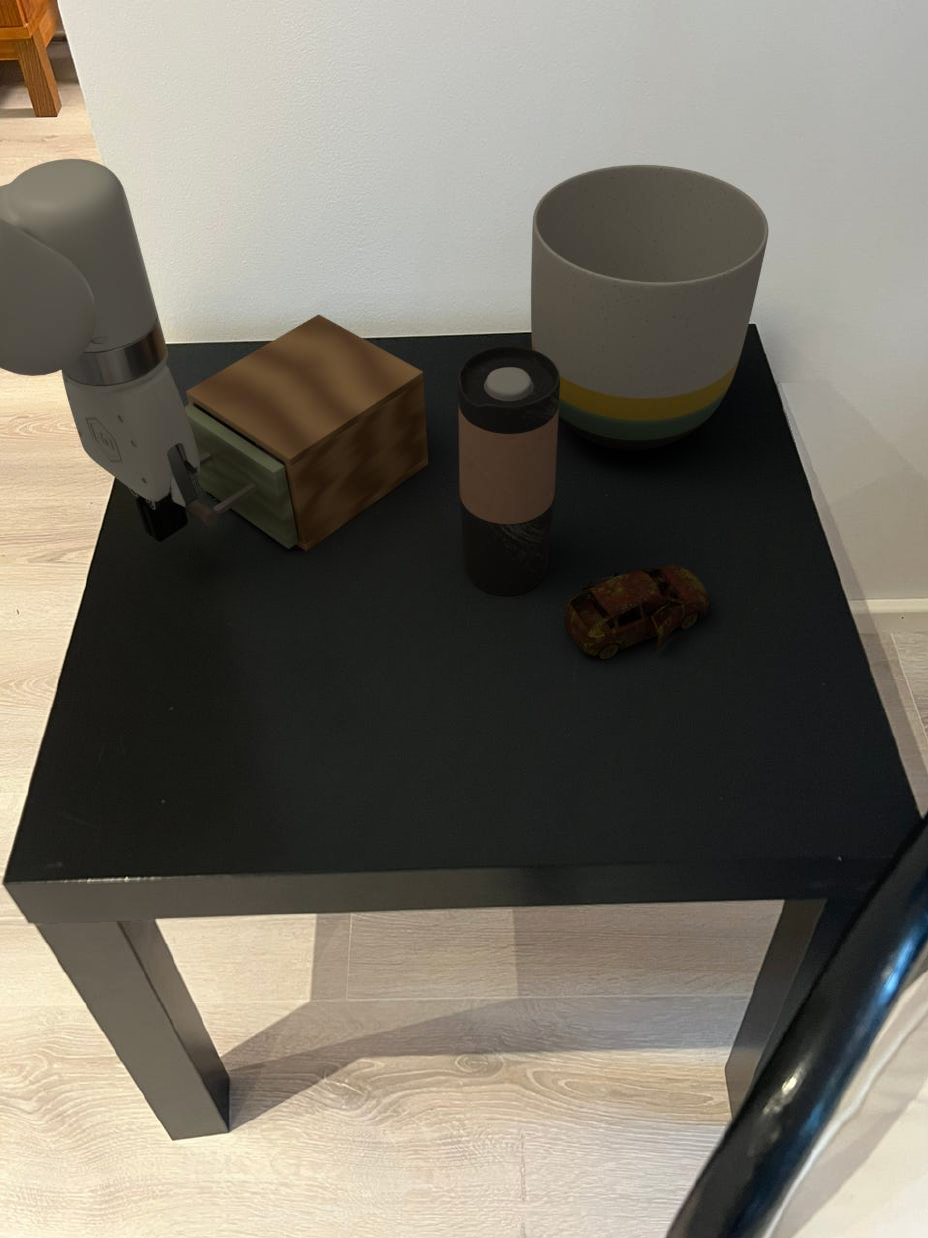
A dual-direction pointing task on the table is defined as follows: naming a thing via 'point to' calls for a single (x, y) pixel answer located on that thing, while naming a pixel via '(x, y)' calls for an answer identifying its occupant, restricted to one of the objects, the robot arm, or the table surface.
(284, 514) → the drawer
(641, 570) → the toy car
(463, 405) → the travel mug
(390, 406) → the cabinet
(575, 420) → the planter
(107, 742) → the table surface
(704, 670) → the table surface
